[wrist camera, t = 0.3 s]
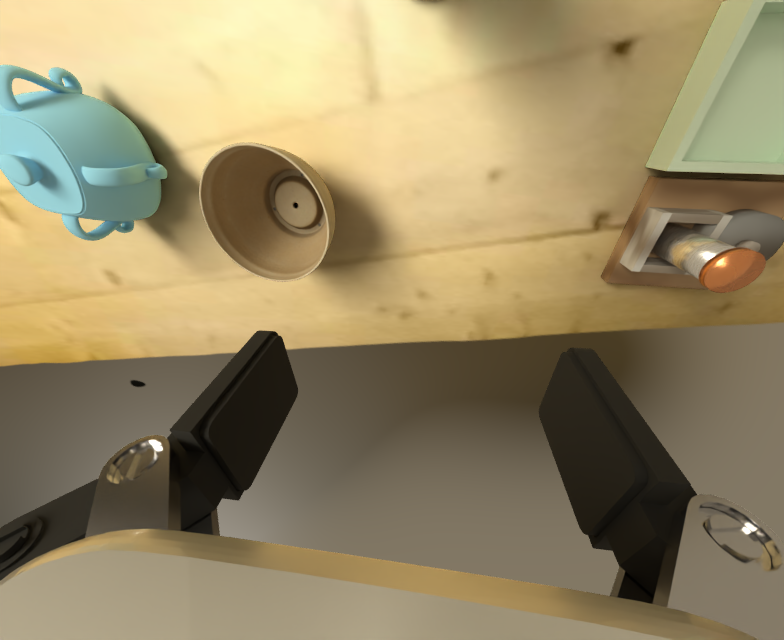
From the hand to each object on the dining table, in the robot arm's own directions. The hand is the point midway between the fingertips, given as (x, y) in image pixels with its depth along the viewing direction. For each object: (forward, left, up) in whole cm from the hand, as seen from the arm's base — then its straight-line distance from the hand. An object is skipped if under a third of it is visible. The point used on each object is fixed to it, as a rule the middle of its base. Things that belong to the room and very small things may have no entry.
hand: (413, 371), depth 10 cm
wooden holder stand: (+5, +35, -36) cm, 51 cm away
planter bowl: (+3, -20, -37) cm, 41 cm away
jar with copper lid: (+5, +31, -34) cm, 47 cm away
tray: (-10, +33, -36) cm, 50 cm away
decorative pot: (-2, -47, -37) cm, 59 cm away
